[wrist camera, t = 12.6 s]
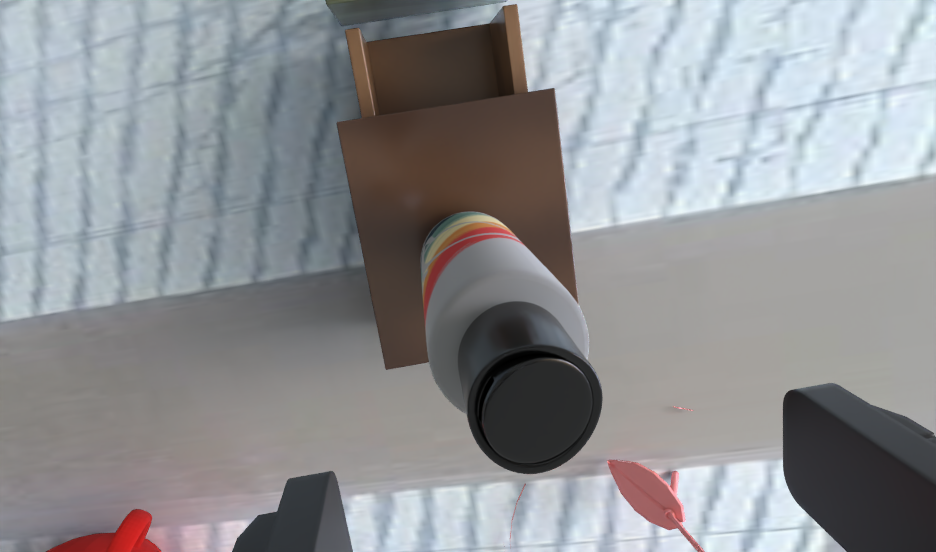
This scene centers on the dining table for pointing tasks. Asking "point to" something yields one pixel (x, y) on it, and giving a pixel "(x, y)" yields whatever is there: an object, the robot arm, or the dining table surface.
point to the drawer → (431, 57)
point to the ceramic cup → (116, 537)
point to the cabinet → (452, 195)
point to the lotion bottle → (507, 344)
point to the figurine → (650, 495)
